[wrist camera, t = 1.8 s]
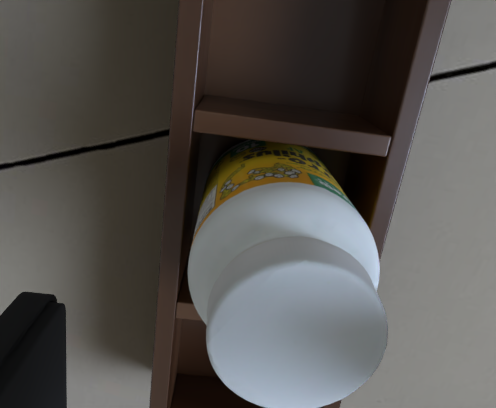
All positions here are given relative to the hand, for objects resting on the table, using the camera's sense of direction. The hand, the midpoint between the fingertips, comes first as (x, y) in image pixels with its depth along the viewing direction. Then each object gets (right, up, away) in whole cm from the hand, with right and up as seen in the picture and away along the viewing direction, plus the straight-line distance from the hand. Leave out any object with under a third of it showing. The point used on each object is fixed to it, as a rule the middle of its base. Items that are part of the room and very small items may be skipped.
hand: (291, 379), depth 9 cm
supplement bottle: (0, +4, +10) cm, 11 cm away
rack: (0, +4, +10) cm, 11 cm away
